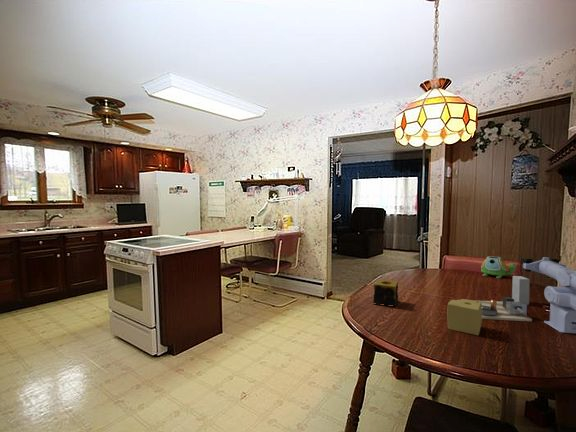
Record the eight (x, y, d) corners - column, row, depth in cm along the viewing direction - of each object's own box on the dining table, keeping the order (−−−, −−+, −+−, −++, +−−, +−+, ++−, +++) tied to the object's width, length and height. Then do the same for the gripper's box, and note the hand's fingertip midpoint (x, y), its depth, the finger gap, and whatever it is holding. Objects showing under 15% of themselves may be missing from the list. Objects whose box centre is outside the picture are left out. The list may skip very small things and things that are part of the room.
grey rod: (526, 317, 116) (526, 306, 116) (517, 317, 117) (518, 306, 116) (510, 307, 128) (510, 297, 127) (502, 306, 128) (502, 296, 128)
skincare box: (529, 305, 133) (530, 279, 132) (518, 304, 133) (519, 279, 133) (521, 300, 139) (522, 276, 138) (511, 300, 139) (512, 275, 139)
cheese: (451, 320, 118) (452, 296, 118) (483, 327, 111) (483, 301, 111) (446, 329, 110) (446, 303, 110) (480, 337, 103) (480, 310, 103)
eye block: (526, 315, 118) (526, 304, 118) (510, 314, 120) (510, 303, 119) (522, 312, 121) (522, 301, 121) (506, 312, 123) (506, 301, 122)
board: (531, 321, 115) (531, 319, 115) (476, 318, 119) (476, 316, 119) (504, 303, 135) (504, 301, 135) (457, 301, 139) (457, 299, 139)
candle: (373, 304, 137) (372, 284, 137) (377, 298, 146) (377, 278, 146) (395, 308, 133) (395, 286, 132) (398, 301, 141) (398, 281, 141)
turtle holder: (515, 280, 171) (516, 261, 170) (479, 276, 183) (479, 257, 182) (517, 276, 180) (517, 257, 179) (482, 272, 192) (482, 254, 191)
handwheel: (501, 316, 118) (501, 304, 117) (477, 315, 119) (477, 303, 119) (490, 308, 126) (490, 297, 126) (468, 307, 128) (468, 296, 128)
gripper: (575, 260, 112) (551, 252, 125) (533, 260, 115) (513, 251, 128) (574, 278, 113) (549, 267, 126) (532, 277, 116) (512, 267, 129)
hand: (531, 260), depth 127 cm, fingers open, 7 cm apart
